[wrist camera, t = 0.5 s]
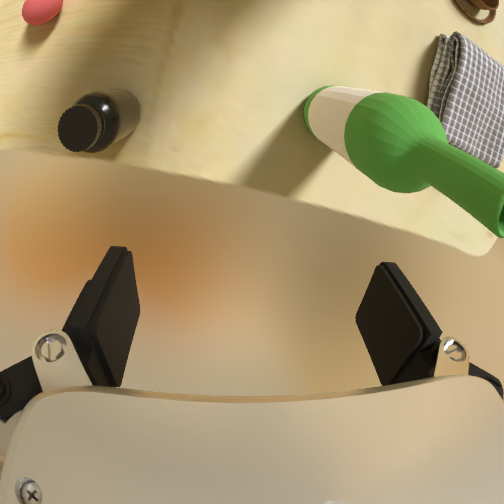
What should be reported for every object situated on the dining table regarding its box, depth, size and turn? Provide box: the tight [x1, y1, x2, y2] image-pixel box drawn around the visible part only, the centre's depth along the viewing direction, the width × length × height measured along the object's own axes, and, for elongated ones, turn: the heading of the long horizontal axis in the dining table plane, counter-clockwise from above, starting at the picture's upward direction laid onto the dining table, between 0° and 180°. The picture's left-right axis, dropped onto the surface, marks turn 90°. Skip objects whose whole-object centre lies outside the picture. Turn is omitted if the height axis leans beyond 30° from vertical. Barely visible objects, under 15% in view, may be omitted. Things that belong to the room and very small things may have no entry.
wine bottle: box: [304, 86, 504, 238], centre depth 22 cm, size 8×8×30 cm
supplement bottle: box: [58, 90, 140, 153], centre depth 27 cm, size 7×7×12 cm
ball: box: [22, 0, 63, 25], centre depth 19 cm, size 6×6×6 cm
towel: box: [426, 31, 504, 168], centre depth 29 cm, size 15×18×8 cm
